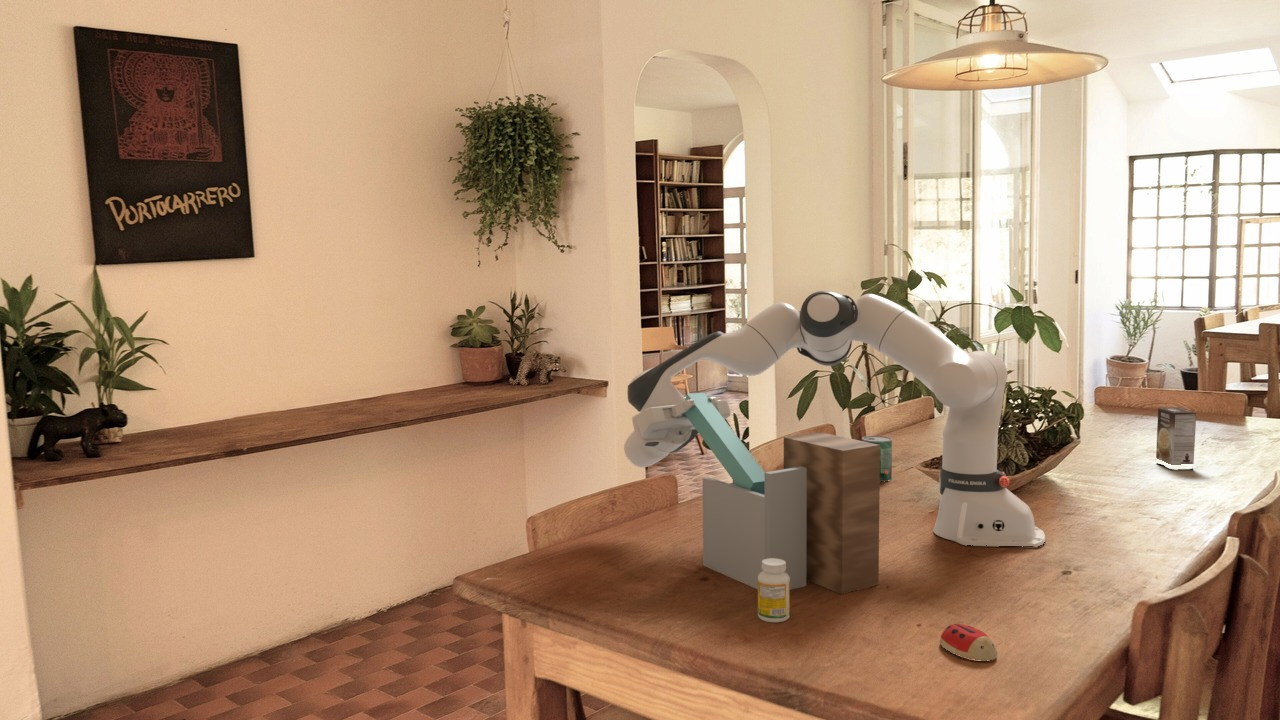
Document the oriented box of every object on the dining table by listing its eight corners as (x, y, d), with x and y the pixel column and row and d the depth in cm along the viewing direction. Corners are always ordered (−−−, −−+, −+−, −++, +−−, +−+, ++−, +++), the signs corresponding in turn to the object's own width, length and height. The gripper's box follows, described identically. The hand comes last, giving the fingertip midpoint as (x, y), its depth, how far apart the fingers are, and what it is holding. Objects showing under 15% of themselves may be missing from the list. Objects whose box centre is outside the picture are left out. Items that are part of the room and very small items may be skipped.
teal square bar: (681, 409, 201) (687, 393, 199) (697, 407, 203) (703, 392, 201) (746, 498, 183) (753, 482, 181) (763, 495, 185) (770, 480, 183)
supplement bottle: (778, 625, 162) (778, 568, 161) (751, 618, 166) (751, 562, 165) (796, 616, 166) (796, 560, 165) (768, 609, 170) (768, 554, 169)
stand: (783, 570, 190) (783, 437, 187) (819, 562, 195) (819, 432, 192) (842, 594, 176) (842, 450, 174) (878, 584, 181) (879, 444, 178)
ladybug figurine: (976, 668, 145) (977, 645, 144) (927, 645, 153) (927, 623, 153) (1008, 659, 148) (1009, 636, 148) (958, 637, 157) (958, 615, 156)
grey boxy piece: (703, 565, 194) (702, 454, 192) (737, 557, 198) (737, 449, 196) (770, 594, 177) (769, 473, 174) (806, 586, 181) (806, 467, 179)
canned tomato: (895, 477, 267) (896, 437, 265) (886, 483, 260) (886, 442, 259) (867, 474, 271) (867, 434, 270) (857, 480, 264) (857, 439, 263)
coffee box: (1154, 463, 279) (1156, 407, 277) (1177, 463, 279) (1179, 406, 277) (1171, 470, 270) (1173, 412, 268) (1195, 470, 269) (1197, 412, 268)
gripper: (714, 436, 213) (749, 411, 202) (633, 446, 202) (665, 421, 191) (705, 409, 215) (739, 383, 204) (624, 418, 204) (656, 391, 193)
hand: (702, 401), depth 198 cm, fingers closed on teal square bar, 4 cm apart
